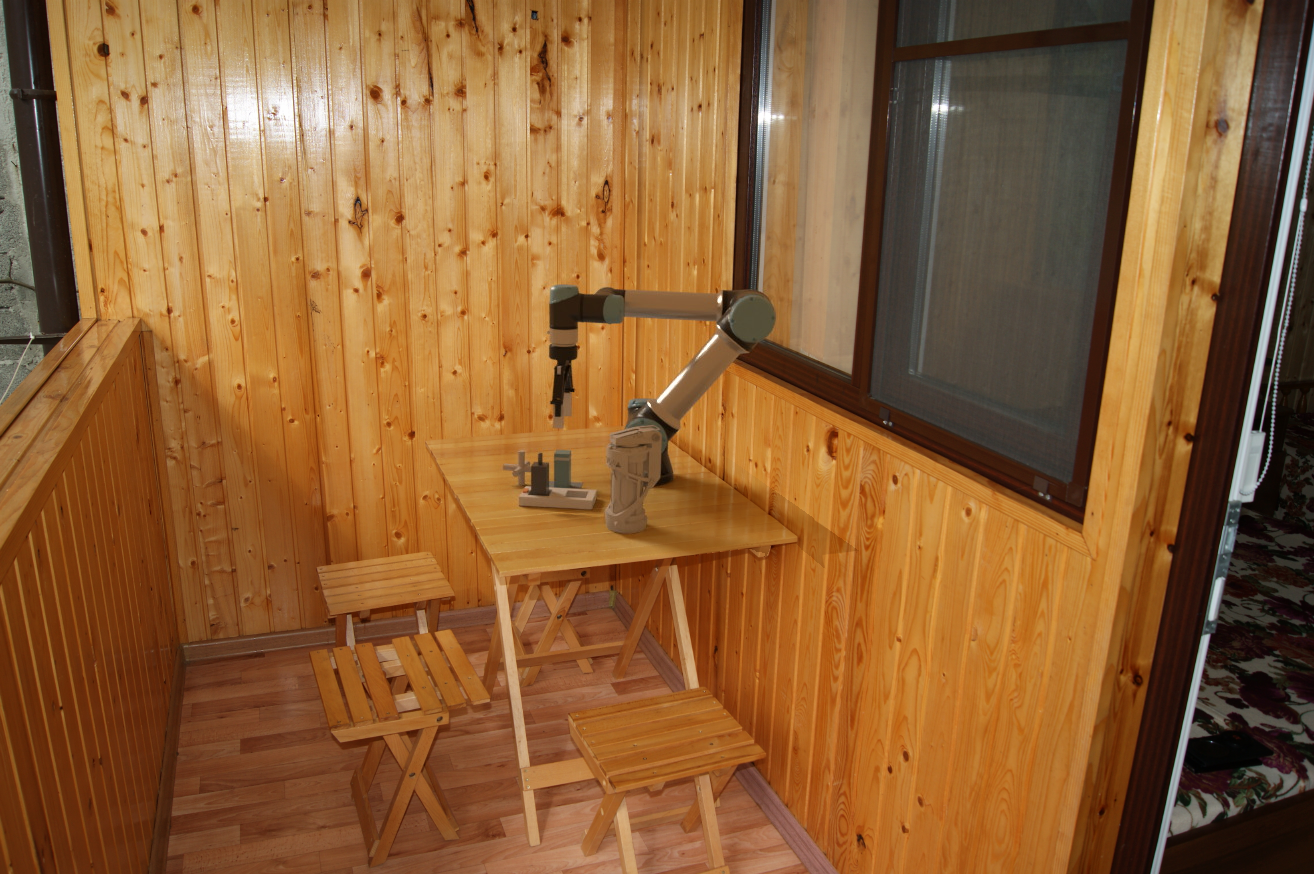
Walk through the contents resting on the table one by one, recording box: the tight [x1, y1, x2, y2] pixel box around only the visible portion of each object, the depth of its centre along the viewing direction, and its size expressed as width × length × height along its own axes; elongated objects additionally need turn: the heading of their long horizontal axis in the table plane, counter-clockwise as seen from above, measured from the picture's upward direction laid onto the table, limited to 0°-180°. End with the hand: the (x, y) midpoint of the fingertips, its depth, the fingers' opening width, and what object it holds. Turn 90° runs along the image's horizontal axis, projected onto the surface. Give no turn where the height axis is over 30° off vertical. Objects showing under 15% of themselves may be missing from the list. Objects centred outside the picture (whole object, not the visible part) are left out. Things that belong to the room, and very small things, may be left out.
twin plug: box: [530, 452, 550, 496], centre depth 270 cm, size 4×4×13 cm
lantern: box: [604, 425, 662, 534], centre depth 254 cm, size 13×10×25 cm
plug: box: [553, 449, 572, 488], centre depth 283 cm, size 4×4×10 cm
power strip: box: [518, 485, 598, 511], centre depth 271 cm, size 19×9×4 cm, turn 86°
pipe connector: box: [502, 449, 532, 486], centre depth 284 cm, size 10×10×10 cm
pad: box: [549, 480, 584, 489], centre depth 284 cm, size 10×10×1 cm
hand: (562, 422), depth 279 cm, fingers open, 13 cm apart
